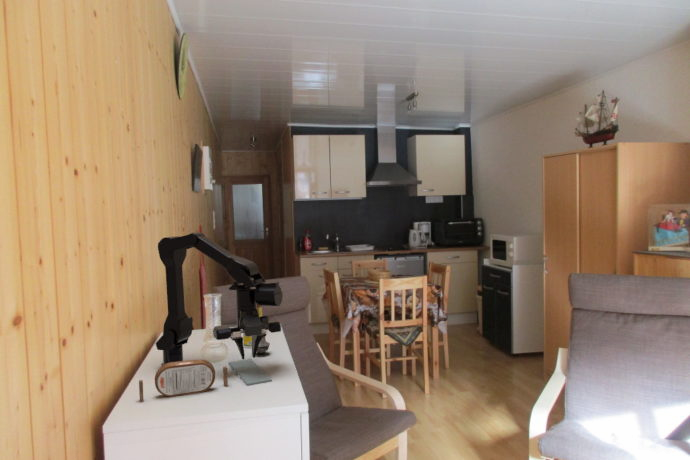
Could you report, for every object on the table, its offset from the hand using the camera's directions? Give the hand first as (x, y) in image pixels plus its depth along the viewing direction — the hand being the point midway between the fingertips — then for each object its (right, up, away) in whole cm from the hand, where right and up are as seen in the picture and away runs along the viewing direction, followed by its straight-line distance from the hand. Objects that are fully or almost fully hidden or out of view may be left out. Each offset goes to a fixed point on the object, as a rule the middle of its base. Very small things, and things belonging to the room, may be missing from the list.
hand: (248, 358), depth 143 cm
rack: (-13, -5, -15) cm, 21 cm away
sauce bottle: (-7, -3, +46) cm, 46 cm away
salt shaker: (+1, -4, +17) cm, 18 cm away
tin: (-13, -5, -16) cm, 21 cm away
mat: (0, -4, 0) cm, 4 cm away
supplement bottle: (-4, -3, +28) cm, 28 cm away
